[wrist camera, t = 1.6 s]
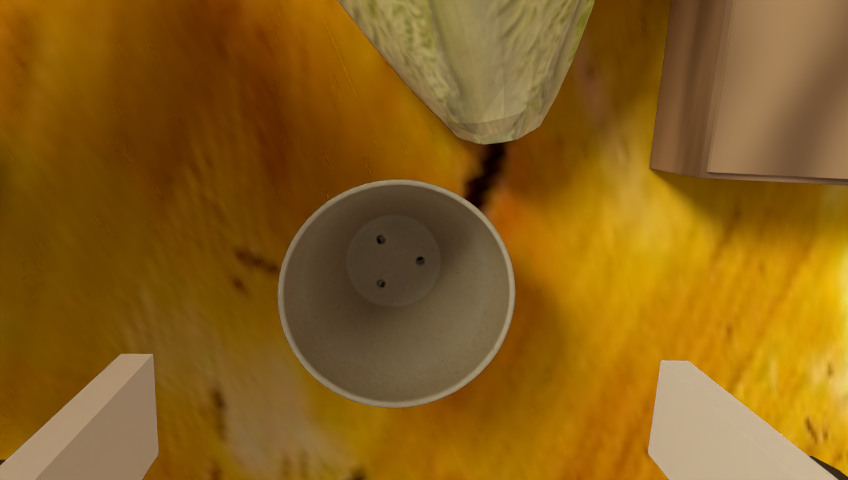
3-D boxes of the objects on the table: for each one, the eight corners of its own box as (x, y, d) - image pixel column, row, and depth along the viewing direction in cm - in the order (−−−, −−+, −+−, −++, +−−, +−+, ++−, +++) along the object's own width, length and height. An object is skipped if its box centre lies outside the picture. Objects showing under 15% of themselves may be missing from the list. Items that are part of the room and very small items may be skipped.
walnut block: (649, 168, 31) (701, 178, 26) (679, -53, 29) (743, -89, 24) (839, 177, 32) (926, 189, 27) (883, -36, 30) (986, -67, 25)
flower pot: (499, 324, 32) (532, 381, 25) (324, 361, 32) (309, 430, 25) (468, 147, 30) (494, 157, 23) (280, 186, 30) (249, 207, 23)
